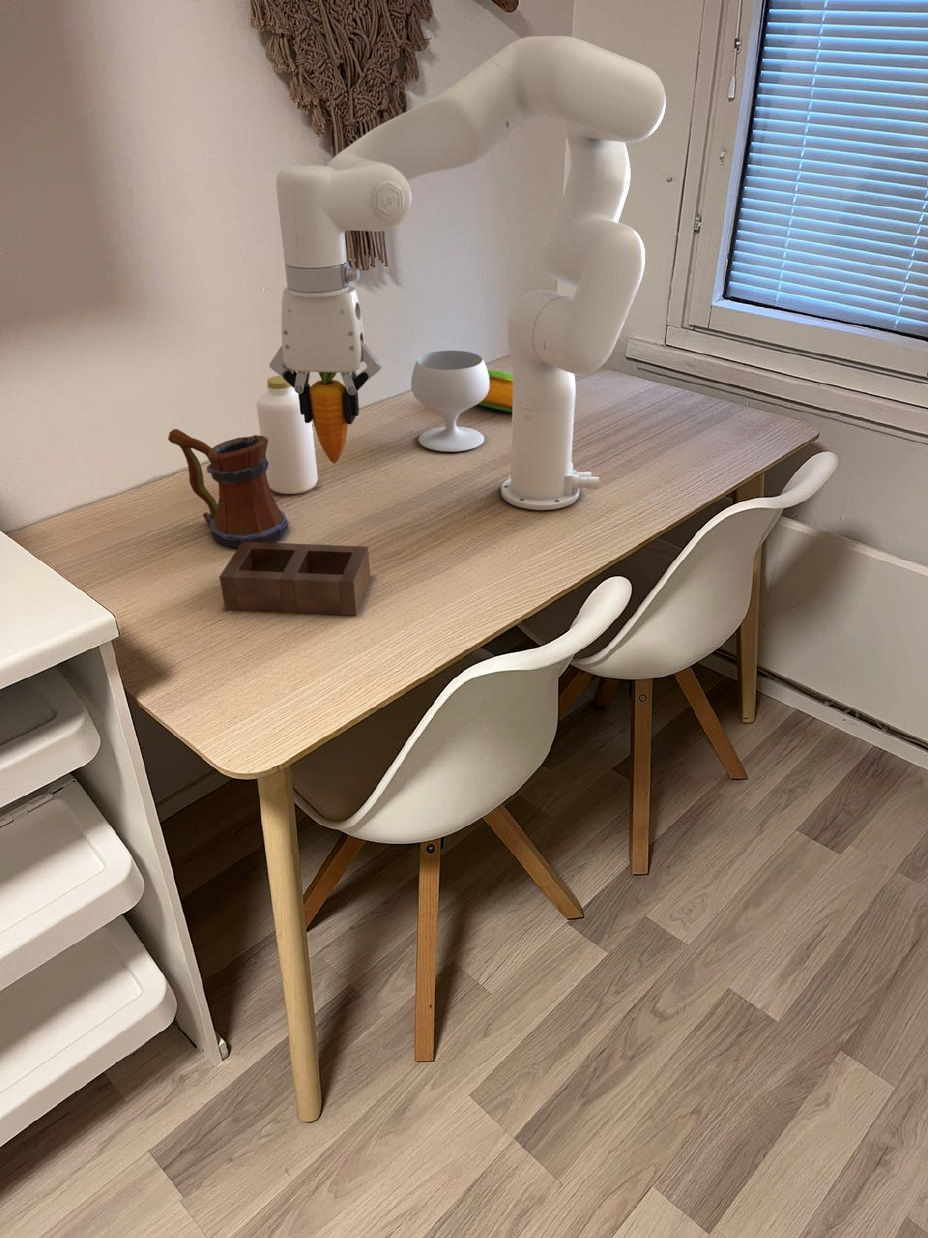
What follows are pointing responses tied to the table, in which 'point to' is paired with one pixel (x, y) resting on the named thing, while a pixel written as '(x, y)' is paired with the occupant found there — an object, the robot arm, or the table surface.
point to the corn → (499, 391)
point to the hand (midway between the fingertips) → (330, 418)
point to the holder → (296, 578)
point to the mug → (235, 489)
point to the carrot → (329, 414)
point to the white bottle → (286, 439)
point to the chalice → (450, 395)
